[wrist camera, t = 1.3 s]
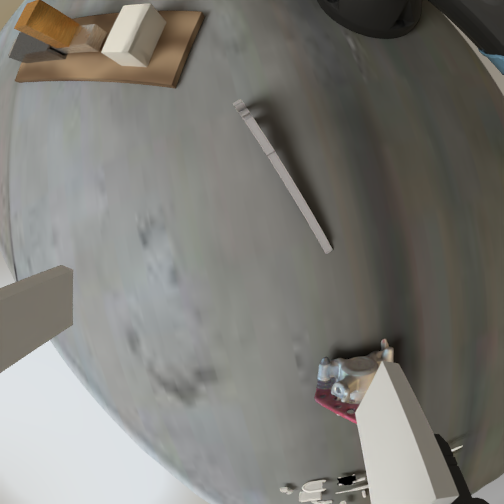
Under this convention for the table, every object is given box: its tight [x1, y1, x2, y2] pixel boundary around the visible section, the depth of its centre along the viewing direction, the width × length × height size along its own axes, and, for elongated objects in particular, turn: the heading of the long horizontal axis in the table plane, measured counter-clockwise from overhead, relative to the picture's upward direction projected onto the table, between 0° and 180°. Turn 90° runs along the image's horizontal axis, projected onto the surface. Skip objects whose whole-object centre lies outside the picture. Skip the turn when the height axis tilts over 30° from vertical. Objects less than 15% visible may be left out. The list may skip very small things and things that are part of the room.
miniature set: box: [280, 446, 462, 504], centre depth 41 cm, size 6×35×12 cm
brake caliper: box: [314, 339, 394, 424], centre depth 35 cm, size 11×11×12 cm
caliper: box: [233, 99, 333, 254], centre depth 32 cm, size 20×1×6 cm, turn 32°
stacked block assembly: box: [8, 0, 107, 56], centre depth 26 cm, size 4×22×13 cm, turn 73°
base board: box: [15, 11, 204, 88], centre depth 34 cm, size 12×36×2 cm, turn 73°
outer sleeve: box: [9, 32, 68, 64], centre depth 31 cm, size 5×12×5 cm, turn 74°
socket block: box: [101, 4, 167, 67], centre depth 30 cm, size 8×4×6 cm, turn 163°
